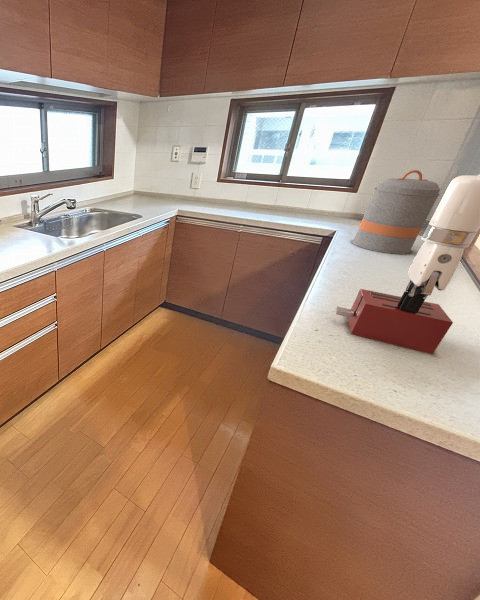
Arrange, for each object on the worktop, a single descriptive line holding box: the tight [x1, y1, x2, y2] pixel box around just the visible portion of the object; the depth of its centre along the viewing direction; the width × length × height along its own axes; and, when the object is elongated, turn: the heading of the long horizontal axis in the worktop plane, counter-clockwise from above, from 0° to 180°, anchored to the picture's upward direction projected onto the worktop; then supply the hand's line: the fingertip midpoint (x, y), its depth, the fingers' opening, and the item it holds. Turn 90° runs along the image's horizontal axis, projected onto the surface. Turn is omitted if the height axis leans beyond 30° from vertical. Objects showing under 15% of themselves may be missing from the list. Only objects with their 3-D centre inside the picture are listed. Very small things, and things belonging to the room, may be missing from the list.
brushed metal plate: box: [335, 306, 354, 318], centre depth 89 cm, size 4×3×1 cm
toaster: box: [347, 288, 454, 355], centre depth 84 cm, size 16×11×9 cm
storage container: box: [352, 169, 441, 255], centre depth 150 cm, size 22×22×35 cm
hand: (406, 309), depth 79 cm, fingers closed
